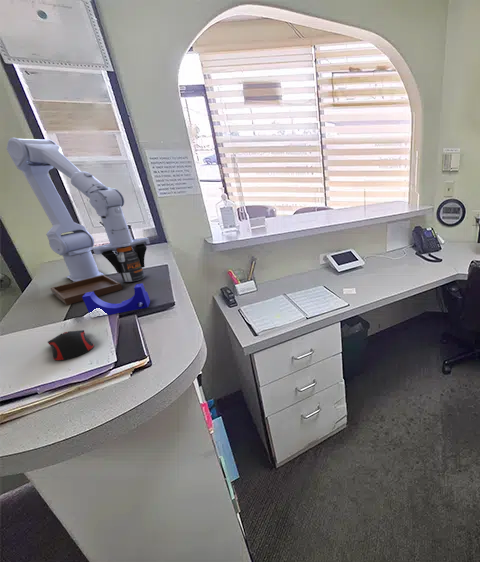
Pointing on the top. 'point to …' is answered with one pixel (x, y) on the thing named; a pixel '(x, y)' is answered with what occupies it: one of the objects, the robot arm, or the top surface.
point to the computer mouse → (70, 345)
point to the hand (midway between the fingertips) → (131, 269)
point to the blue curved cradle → (133, 303)
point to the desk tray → (85, 289)
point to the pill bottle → (129, 264)
